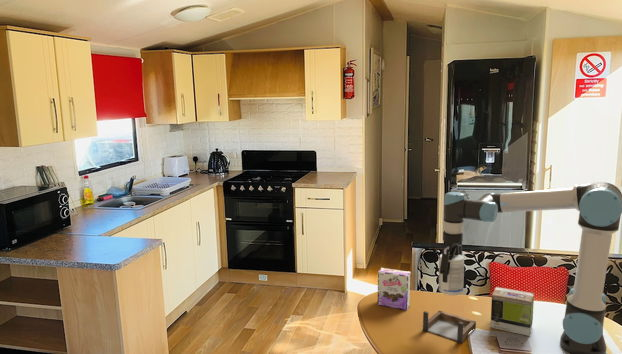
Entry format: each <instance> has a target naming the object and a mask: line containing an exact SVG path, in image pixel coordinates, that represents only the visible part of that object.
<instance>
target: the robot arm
mask: <svg viewBox="0 0 622 354" xmlns="http://www.w3.org/2000/svg"><path fill="white" fill-rule="evenodd" d="M443 198H444V200H443V201H444V202H443V221H442V225H443V227H442V230H443V232H442V241H443V242H444V243H446V244H445V247H444V248H442V249H441V254H442V259H441V266H440V274H442V289H444V290H449V282H450V274H449V270H450V262H449V260H452V258H454V255H459V254H460V255H462V256H463V241H464V240H463V238H464V233H463V232H464V220H465V219H466V220H473V221H478V222H479V221H480V222H484V223H485V222H486V223H487V222H488V223H494V222H495V221H496V220H497V217H498V214H500V213H501V214H502V213H503V214H504V213H515V212H516V213H517V212H519V213H520V212H534V211H535V212H537V211H556V210H557V211H558V210H577V211H578V212H579V213H578V214H579V215H578V220H577V221H578V223H577V225H578V226H579V227H580V228H581V229H582V230H581V236H580V243H579V251H578V257H577V264H576V272H575V279H574V284H573V287H572V288H570V290H569V294H568V296H567V298H566V305H565V312H564V317H563V319H562V329H563V331H562V334H561V335H560V339H559V345H560V346H561V348H562V349H564V350H565V351H566V352H568V353H569V354H607V344H606V341H605V336H604V334H603V333H604V321H605V315H606V308H607V305H606V304H607V296H606V294H605V293H604V287H605V282H606V275H607V269H608V263H609V257H610V250H611V244H612V237H613V234H615V233H616V232H618V231H619V227H620V222H621V217H622V192H621V190H620V189H619V188H618V186H616V185H614V184H613V183H610V182H606V181H605V182H604V181H598V182H591V183H584V184H582V183H581V184H575V185H574V186H573V187H568V188H557V189H556V188H555V189H542V190H532V191H531V190H530V191H519V192H518V191H517V192H504V193H494V192H488V193H487V192H486V193H485V194H483V195H482V196H481V197H480V198H478V199H477V200H476V199H467V198H466V197H465V194H464V193H463V192H459V191H449V192H447V193H445V194H444V197H443Z"/></svg>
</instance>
